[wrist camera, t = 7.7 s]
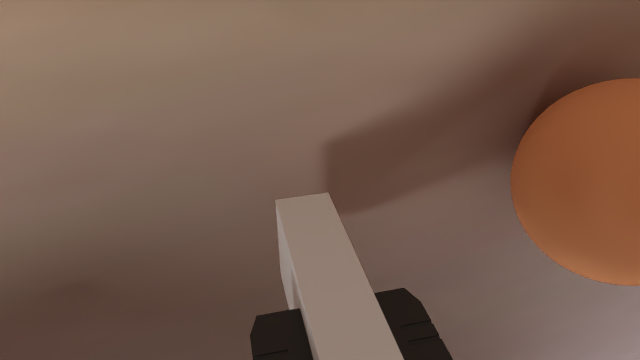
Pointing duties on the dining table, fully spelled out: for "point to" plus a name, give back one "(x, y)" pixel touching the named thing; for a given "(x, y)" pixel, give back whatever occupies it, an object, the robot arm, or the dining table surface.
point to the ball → (584, 181)
